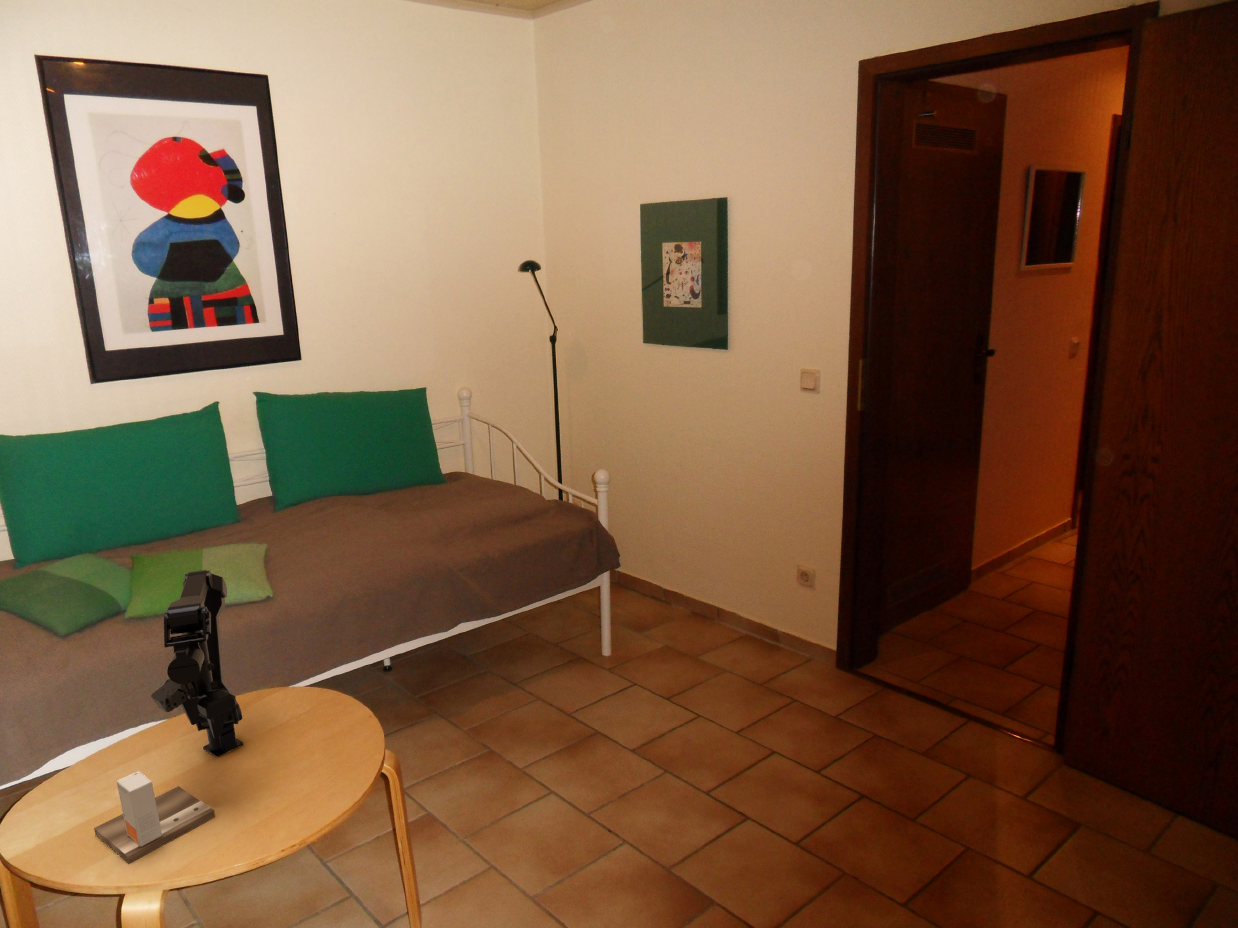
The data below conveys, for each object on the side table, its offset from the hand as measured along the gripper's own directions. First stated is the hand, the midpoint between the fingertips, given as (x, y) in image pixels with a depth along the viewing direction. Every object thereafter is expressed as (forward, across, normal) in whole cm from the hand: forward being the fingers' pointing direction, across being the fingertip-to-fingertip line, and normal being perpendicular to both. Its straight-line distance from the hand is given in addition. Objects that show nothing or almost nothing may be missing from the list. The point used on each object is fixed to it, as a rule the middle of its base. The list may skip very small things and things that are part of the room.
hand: (205, 730), depth 179 cm
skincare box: (+12, +7, -17) cm, 22 cm away
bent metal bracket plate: (+13, +3, -14) cm, 19 cm away
